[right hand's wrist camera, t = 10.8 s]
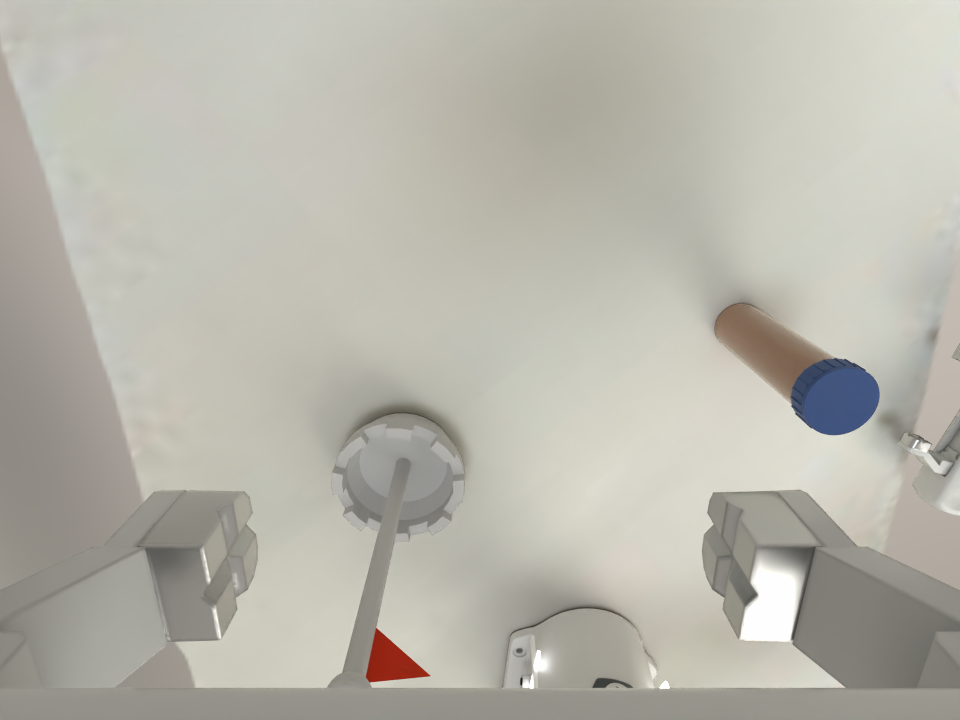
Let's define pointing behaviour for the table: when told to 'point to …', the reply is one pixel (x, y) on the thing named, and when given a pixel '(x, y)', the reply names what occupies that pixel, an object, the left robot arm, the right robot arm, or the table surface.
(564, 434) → the table surface
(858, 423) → the lid
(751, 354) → the jar
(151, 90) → the table surface
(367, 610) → the flag stand
